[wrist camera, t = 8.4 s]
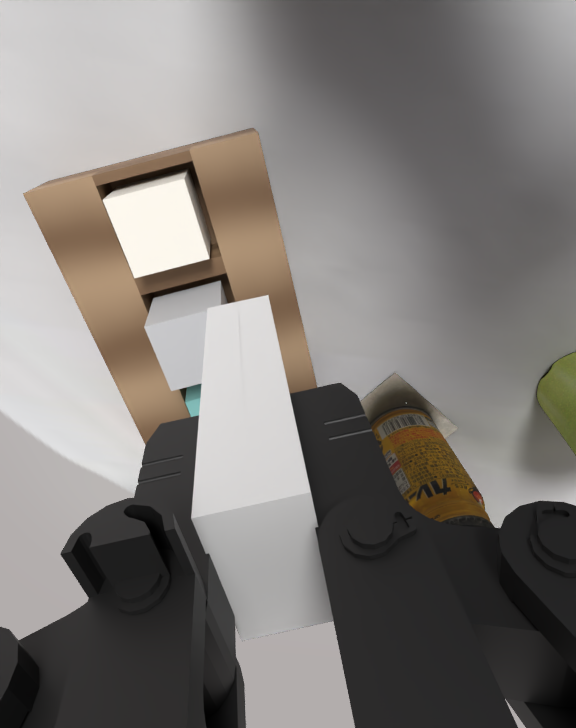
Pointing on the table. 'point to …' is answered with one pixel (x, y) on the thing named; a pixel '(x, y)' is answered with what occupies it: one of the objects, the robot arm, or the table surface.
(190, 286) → the wooden tray
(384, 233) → the table surface
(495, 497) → the table surface
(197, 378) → the grey cube
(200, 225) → the cream white cube
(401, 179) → the table surface
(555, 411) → the plant pot
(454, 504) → the condiment
